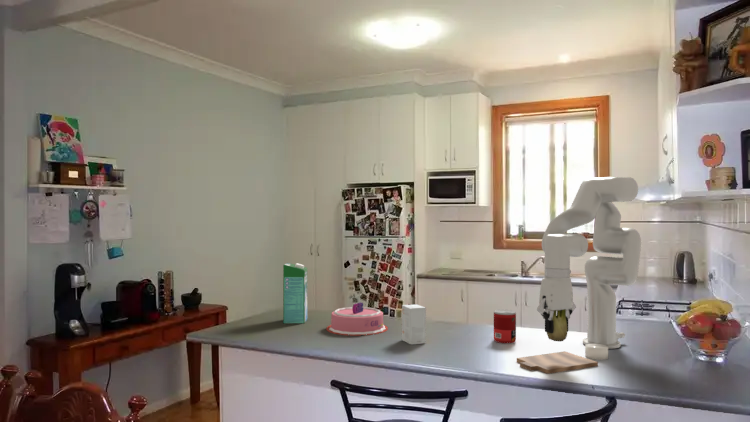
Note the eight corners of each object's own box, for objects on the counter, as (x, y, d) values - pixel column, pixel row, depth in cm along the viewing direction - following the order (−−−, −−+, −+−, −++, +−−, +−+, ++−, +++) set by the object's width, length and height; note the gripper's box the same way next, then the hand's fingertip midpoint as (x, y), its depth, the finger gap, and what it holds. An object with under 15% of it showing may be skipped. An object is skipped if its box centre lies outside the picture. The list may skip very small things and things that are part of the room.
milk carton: (304, 323, 233) (304, 264, 233) (283, 323, 233) (283, 264, 233) (307, 319, 242) (307, 262, 242) (286, 319, 242) (286, 262, 242)
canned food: (516, 344, 198) (516, 313, 198) (493, 343, 200) (493, 312, 200) (515, 339, 206) (515, 309, 206) (493, 338, 207) (493, 309, 207)
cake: (367, 339, 206) (367, 310, 206) (313, 331, 219) (314, 305, 219) (398, 327, 228) (398, 301, 228) (348, 320, 241) (348, 296, 241)
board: (564, 354, 184) (564, 351, 184) (597, 365, 171) (597, 362, 171) (510, 362, 174) (510, 358, 174) (541, 374, 161) (541, 370, 161)
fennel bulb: (544, 340, 173) (544, 302, 173) (551, 337, 177) (551, 300, 177) (562, 343, 169) (562, 304, 169) (569, 340, 173) (569, 302, 173)
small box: (426, 343, 199) (426, 307, 199) (410, 345, 197) (410, 308, 197) (417, 338, 207) (417, 303, 207) (401, 339, 204) (401, 304, 204)
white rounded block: (596, 353, 186) (596, 342, 186) (612, 358, 180) (613, 347, 180) (580, 355, 183) (580, 345, 183) (597, 361, 177) (597, 349, 177)
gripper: (568, 271, 180) (568, 327, 180) (527, 273, 173) (526, 331, 173) (586, 274, 173) (586, 331, 173) (544, 276, 166) (543, 336, 166)
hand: (556, 331), depth 173 cm, fingers closed on fennel bulb, 5 cm apart
